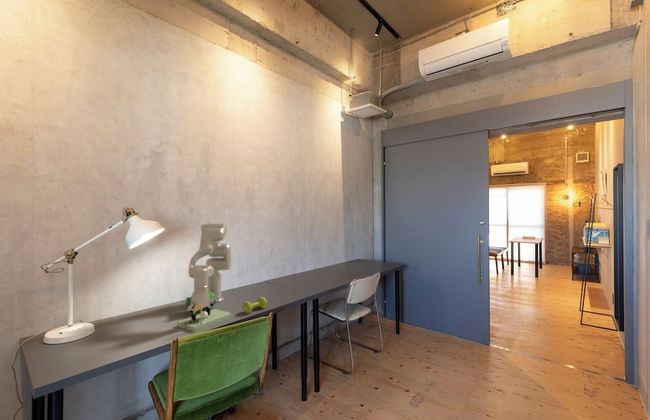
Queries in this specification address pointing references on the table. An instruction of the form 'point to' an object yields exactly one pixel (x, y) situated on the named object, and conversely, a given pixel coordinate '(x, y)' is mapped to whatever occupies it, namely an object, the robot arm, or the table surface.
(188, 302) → the piggy bank
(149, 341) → the table surface
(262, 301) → the dumbbell
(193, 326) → the green
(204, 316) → the ball
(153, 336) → the table surface
